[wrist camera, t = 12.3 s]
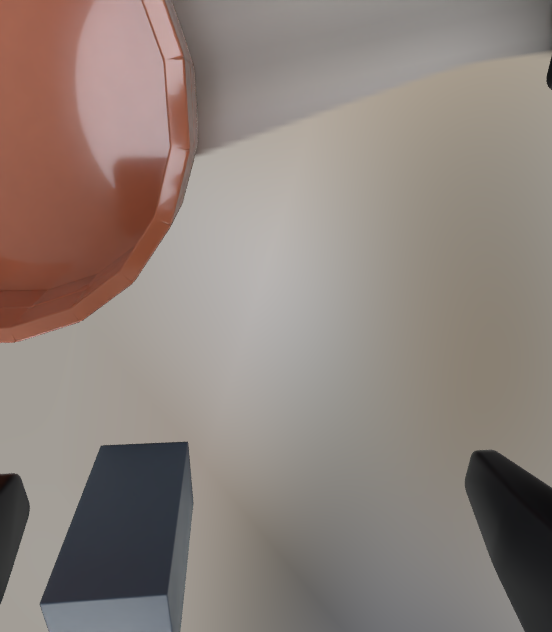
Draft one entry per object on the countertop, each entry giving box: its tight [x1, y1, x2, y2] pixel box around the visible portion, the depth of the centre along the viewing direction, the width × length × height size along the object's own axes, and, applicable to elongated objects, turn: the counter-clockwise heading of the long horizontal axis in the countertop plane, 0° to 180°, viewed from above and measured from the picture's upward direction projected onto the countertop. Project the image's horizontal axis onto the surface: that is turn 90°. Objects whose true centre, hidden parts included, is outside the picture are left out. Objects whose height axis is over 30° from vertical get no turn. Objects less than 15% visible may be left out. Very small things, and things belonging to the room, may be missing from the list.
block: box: [40, 442, 193, 632], centre depth 20 cm, size 4×4×8 cm
